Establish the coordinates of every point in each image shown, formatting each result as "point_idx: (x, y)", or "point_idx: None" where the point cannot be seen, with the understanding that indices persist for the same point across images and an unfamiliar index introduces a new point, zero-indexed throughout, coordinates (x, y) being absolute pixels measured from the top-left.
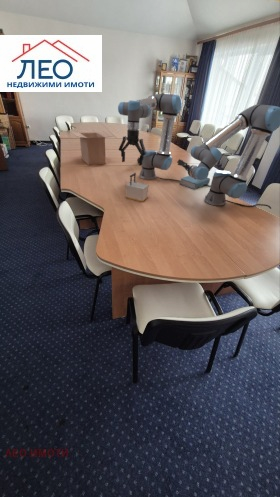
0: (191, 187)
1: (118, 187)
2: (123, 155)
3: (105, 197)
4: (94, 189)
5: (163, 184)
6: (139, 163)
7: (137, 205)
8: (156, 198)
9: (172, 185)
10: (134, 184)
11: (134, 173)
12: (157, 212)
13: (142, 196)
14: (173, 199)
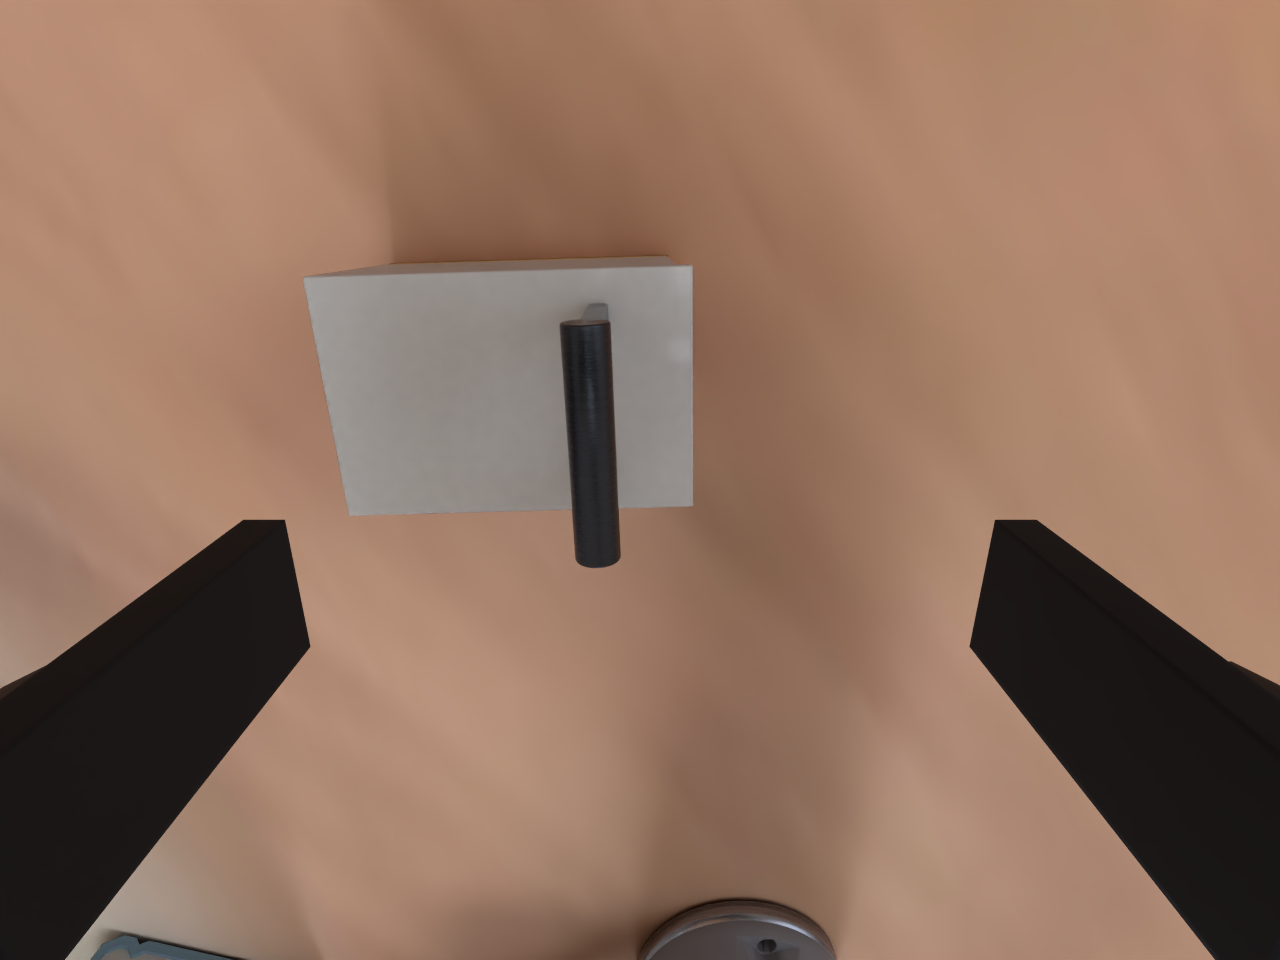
0: (156, 952)
1: (928, 524)
2: (1161, 704)
3: (953, 72)
4: (1240, 256)
5: (473, 888)
6: (238, 555)
7: (385, 101)
8: (310, 483)
9: (373, 912)
10: (561, 389)
11: (586, 512)
12: (18, 48)
13: (368, 268)
14: (128, 574)
